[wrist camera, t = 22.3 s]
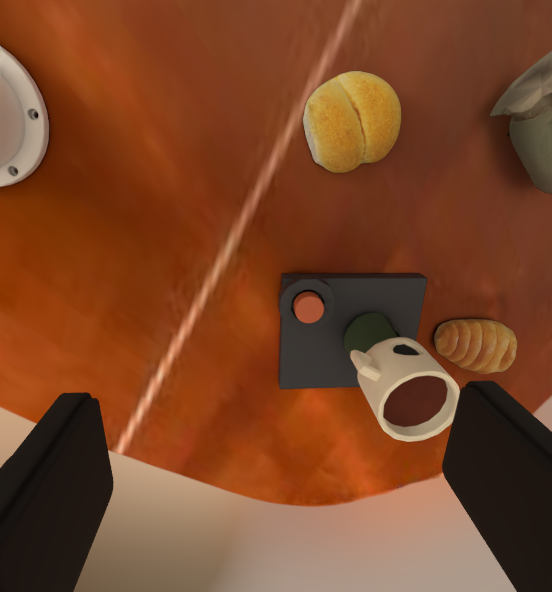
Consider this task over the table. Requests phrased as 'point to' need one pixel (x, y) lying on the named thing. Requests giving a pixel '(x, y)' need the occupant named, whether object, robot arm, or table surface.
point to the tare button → (308, 307)
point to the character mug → (400, 380)
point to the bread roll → (351, 121)
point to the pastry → (476, 344)
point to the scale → (340, 322)
